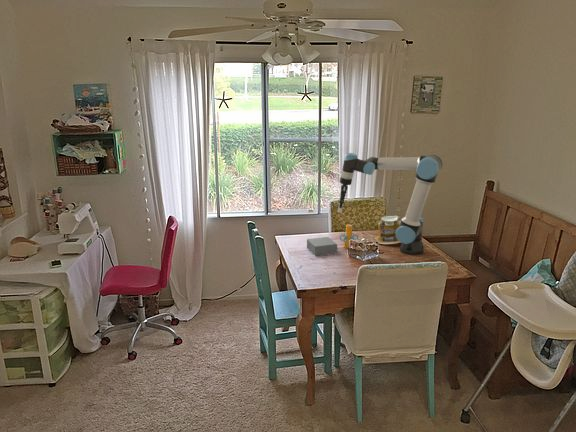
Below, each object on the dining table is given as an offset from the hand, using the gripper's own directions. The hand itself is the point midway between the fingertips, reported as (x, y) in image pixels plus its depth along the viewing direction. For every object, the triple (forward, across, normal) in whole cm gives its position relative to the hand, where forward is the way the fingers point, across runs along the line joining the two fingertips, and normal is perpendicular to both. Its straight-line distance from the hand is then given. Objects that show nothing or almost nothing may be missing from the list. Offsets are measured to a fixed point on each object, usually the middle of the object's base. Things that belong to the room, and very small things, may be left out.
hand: (339, 208), depth 318 cm
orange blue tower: (+25, +2, +11) cm, 27 cm away
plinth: (+27, +10, -6) cm, 29 cm away
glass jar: (+21, -14, +39) cm, 47 cm away
